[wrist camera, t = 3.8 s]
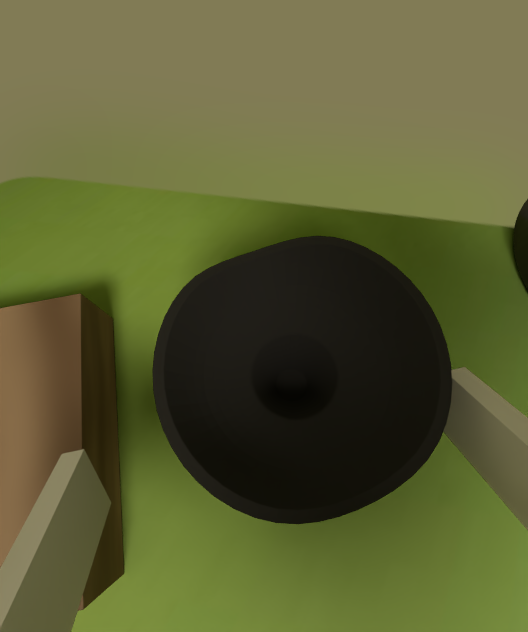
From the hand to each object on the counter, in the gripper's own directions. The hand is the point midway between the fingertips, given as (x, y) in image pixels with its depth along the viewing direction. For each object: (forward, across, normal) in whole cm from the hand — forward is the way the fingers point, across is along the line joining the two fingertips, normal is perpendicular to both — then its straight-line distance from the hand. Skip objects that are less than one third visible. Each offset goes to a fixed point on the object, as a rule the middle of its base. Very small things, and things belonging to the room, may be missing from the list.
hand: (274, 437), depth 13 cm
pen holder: (+7, +1, -4) cm, 8 cm away
